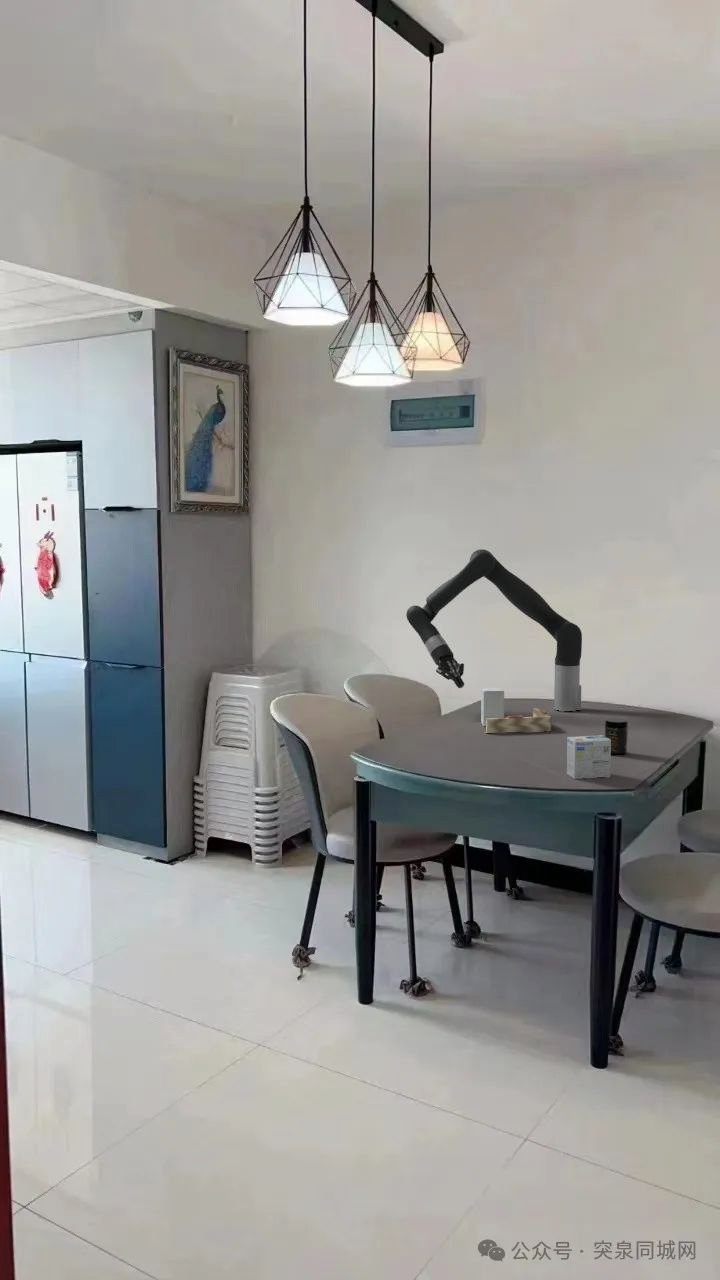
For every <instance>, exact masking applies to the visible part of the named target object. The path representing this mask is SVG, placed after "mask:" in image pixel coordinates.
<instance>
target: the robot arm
mask: <svg viewBox="0 0 720 1280" xmlns="http://www.w3.org/2000/svg"><path fill="white" fill-rule="evenodd" d="M483 577H484V578H485V579H487V580H488V581H489V582H491V583H492V584H493V585H495V586H496V588H497V589H498V590H499V591H500V593H501V594H502V595H503V596H504V597H505V598H506V599H507V600H508V602H509V603H511V604H512V605H513V606H514V607H515V608H516V609H517V610H519V611H520V612H521V613H523V614H524V615H525V616H527V617H529V619H531V620H533V621H534V622H536V623H537V624H538V625H540V626H541V627H543V629H545V630H546V631H547V632H548V633H549V635H550V636H551V637H552V638H553V639H554V640H555V641H556V654H555V656H554V657H555V658H554V688H553V689H554V692H553V693H554V695H553V696H554V698H553V701H554V702H553V709H555V710H554V711H557V710H559V711H558V712H564V711H573V712H577V711H576V710H582V685H581V684H580V680H581V679H580V678H581V677H580V674H581V673H580V672H581V659H582V658H581V657H582V652H583V651H582V649H583V647H582V646H583V645H582V643H583V634H582V630H581V628H580V627H579V626H578V625H577V624H575V623H573V622H571V621H569V620H568V619H566V618H565V617H563V616H562V615H560V614H559V613H558V612H556V611H555V610H554V609H553V608H552V607H551V606H550V605H549V603H548V602H547V601H546V600H545V598H544V597H543V596H542V595H541V594H539V593H538V592H537V591H536V590H535V589H534V588H532V587H531V586H530V585H529V584H528V583H526V582H525V581H524V580H522V579H521V578H520V577H518V576H517V575H515V574H514V573H512V572H510V571H509V570H508V569H507V568H506V567H505V565H504V566H503V564H502V563H501V562H500V561H499V560H498V559H497V558H496V556H494V555H493V554H492V553H491V552H490V551H489V550H487V549H476V550H475V551H473V552H472V553H471V555H470V557H469V561H468V563H467V564H465V566H464V567H463V569H461V570H460V571H459V572H458V573H457V574H456V575H454V576H453V577H451V578H450V579H448V580H447V581H445V582H444V583H442V584H441V585H440V586H438V587H437V588H436V589H435V590H434V591H432V592H431V593H430V594H429V595H428V596H427V597H426V599H425V600H426V603H425V604H424V606H423V607H421V606H419V605H411V606H410V607H408V609H407V610H406V615H405V617H406V619H407V622H408V623H409V624H410V626H411V627H412V628H413V630H414V631H415V632H416V633H417V634H418V636H419V637H420V639H421V642H422V643H423V645H424V647H425V648H426V651H427V652H428V654H429V655H430V657H431V659H432V661H433V662H434V663H435V665H436V666H437V668H436V670H435V672H436V673H437V674H439V675H440V676H442V677H443V678H444V679H446V680H448V681H449V680H451V681H452V682H453V683H454V685H455V686H456V687H457V689H462V688H464V686H465V682H464V680H463V679H462V676H463V675H464V671H465V670H464V669H465V663H463V662H462V663H459V662H458V661H457V660H456V659H455V657H454V653H453V651H452V649H451V647H450V646H449V644H448V643H447V641H446V640H445V639H444V637H443V636H442V635H441V633H440V632H439V629H438V628H437V627H436V626H435V625H434V624H433V623H432V621H434V619H435V618H436V616H437V615H438V614H439V613H440V611H441V610H442V609H443V608H445V607H446V606H447V605H448V604H450V603H451V602H452V601H453V600H454V599H455V598H456V597H457V596H459V594H461V593H463V591H465V589H467V588H468V587H470V586H471V585H473V584H474V583H476V582H477V581H478V580H481V579H482V578H483Z"/></svg>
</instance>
